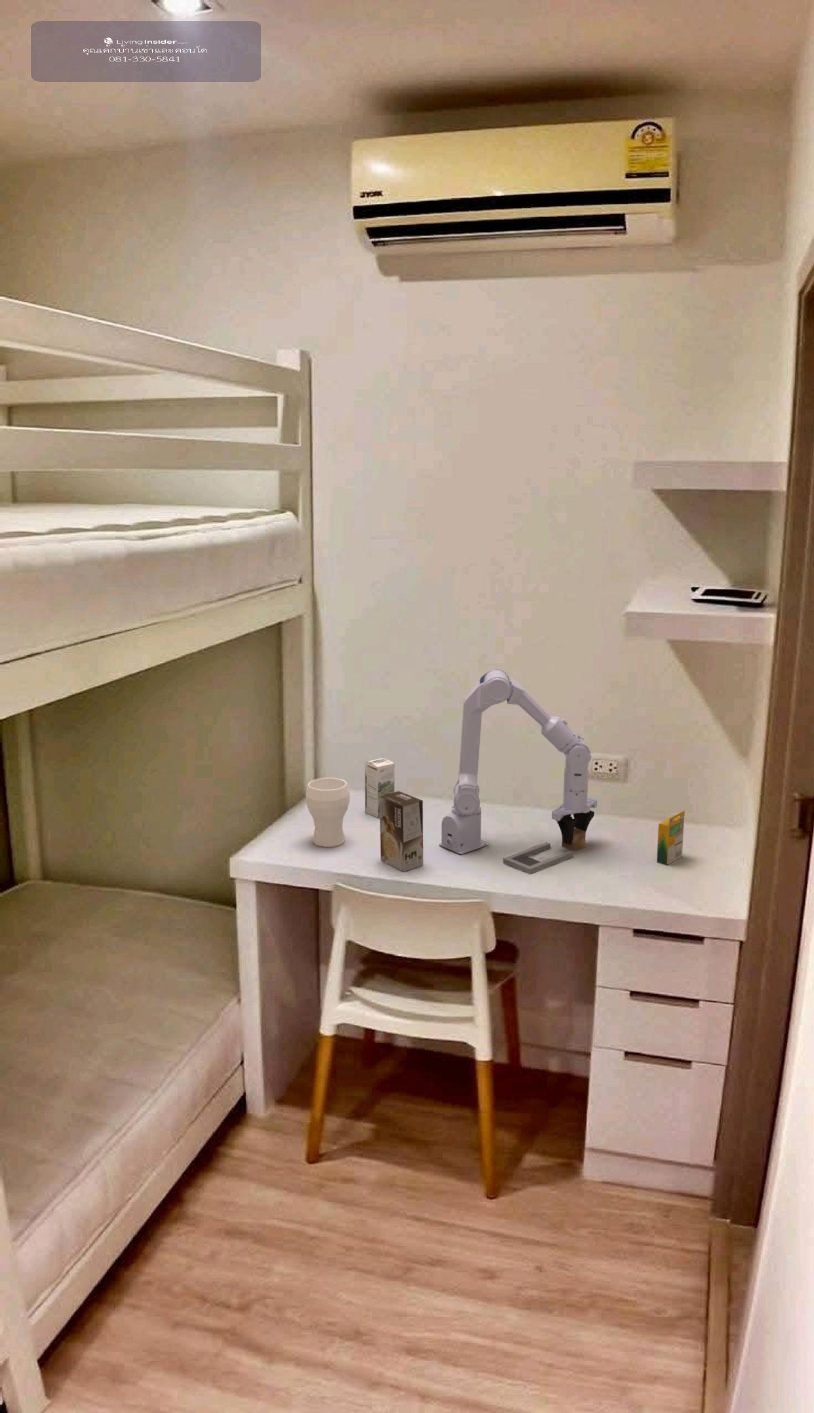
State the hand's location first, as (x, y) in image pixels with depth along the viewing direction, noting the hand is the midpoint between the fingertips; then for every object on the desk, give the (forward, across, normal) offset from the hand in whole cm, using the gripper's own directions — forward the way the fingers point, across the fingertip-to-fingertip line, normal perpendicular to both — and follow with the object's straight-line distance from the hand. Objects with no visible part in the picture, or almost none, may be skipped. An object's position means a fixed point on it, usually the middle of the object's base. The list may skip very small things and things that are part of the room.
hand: (573, 841), depth 245 cm
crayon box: (+2, +11, -20) cm, 23 cm away
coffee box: (+2, -38, +20) cm, 43 cm away
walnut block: (+1, 0, 0) cm, 1 cm away
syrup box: (+2, -21, +49) cm, 53 cm away
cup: (+2, -43, +42) cm, 60 cm away
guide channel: (+1, -12, 0) cm, 12 cm away
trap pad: (+1, -16, 0) cm, 16 cm away
